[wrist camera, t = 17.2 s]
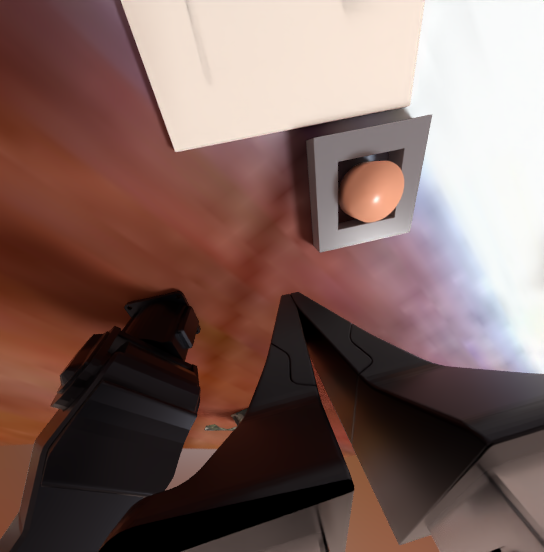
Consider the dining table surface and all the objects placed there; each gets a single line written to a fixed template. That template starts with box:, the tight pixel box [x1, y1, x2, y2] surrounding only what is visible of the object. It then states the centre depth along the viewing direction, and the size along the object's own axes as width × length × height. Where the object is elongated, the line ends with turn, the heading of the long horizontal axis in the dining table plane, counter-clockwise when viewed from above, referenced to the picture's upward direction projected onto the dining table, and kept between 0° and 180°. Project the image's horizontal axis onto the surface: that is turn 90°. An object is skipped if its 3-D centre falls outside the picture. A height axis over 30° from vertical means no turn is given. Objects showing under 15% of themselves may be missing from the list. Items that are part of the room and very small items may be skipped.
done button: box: [338, 161, 404, 222], centre depth 18 cm, size 5×5×2 cm
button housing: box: [306, 115, 432, 252], centre depth 19 cm, size 10×10×2 cm
